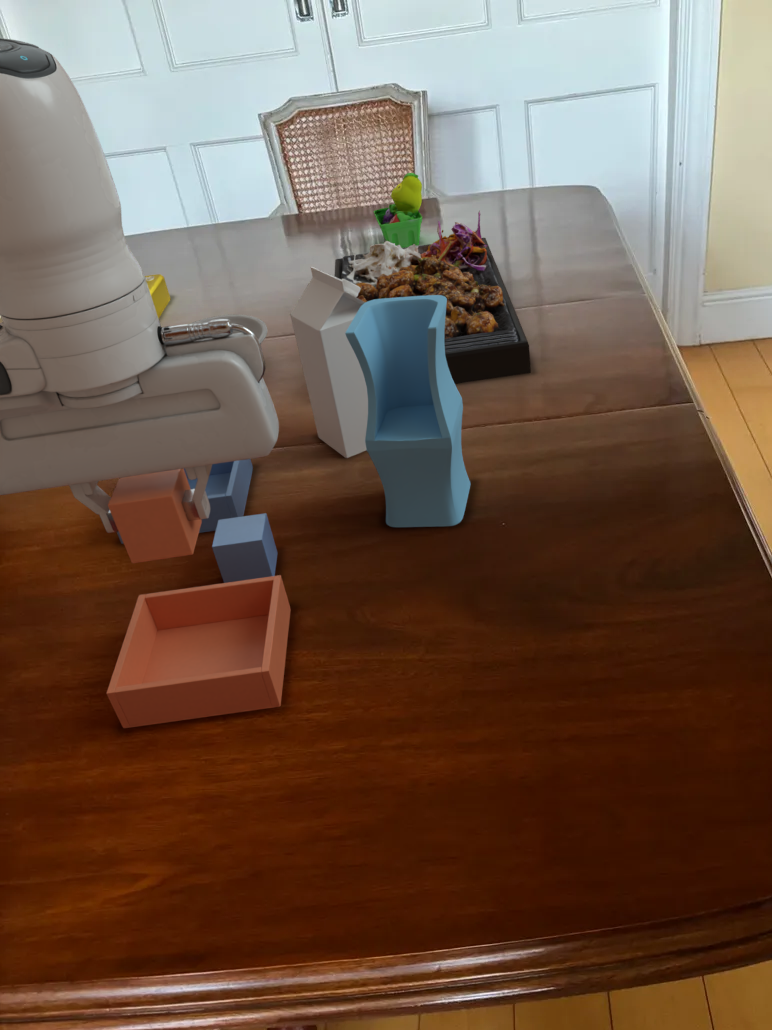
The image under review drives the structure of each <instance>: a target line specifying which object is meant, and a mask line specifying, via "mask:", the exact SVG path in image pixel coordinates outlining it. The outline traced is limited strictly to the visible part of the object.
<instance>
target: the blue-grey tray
mask: <svg viewBox="0 0 772 1030" xmlns="http://www.w3.org/2000/svg"><path fill="white" fill-rule="evenodd" d="M253 468H254V466H253V463H252V460H251V459H246V460H239V461H232V462H225V463H218V464H212V468H211V471H210V475H209V479H208V482H207V485H206V489H205V491H206V494H207V497H208V500H209V503H210V514H209V518H207V519H201V520H202V523H201V526H200V530H199V534H200V533H201V534H202V533H206V532H207V533H208V532H216V528H217V524H218V520H222V519H229V518H236V517H243V516H245V515H244V514H245V510H246V505H247V500H248V494H249V491H250V485H251V479H252V474H253V470H254V469H253ZM184 471H185V474H186V477H187V480H188V483H189V486H190V489H195V487H196V483H197V480H198V479H197V478H196V479H194V480H190V479H189V478H188V476H187V473H186V470H185V468H184ZM116 534H117V536H118V539H119V542H120V544H122V545H124V543H123V541H122V538H121V536H120V533H119V531H118V532H116Z"/></svg>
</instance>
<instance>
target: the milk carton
mask: <svg viewBox="0 0 772 1030" xmlns="http://www.w3.org/2000/svg"><path fill="white" fill-rule="evenodd" d="M310 271H311V276H312V278H311V279H310V280H309V282H308V284H307V285H306V287H305V289H304V291H303V292H302V294H301V295H300V297H299V299H298V300H297V302H296V304H295V305H294V307H293V308H292V310H291V311H290V313H289V315H290V320H291V324H292V329H293V332H294V337H295V341H296V346H297V351H298V355H299V358H300V362H301V367H302V373H303V377H304V381H305V385H306V389H307V393H308V399H309V402H310V407H311V412H312V415H313V420H314V425H315V429H316V433H317V438H319V439H320V440H321V441H322V442H324V443H325V444H326V445H328V446H329V447H331V448H332V449H333V450H334V451H335V452H337V453H338V454H340V455H341V456H342V457H344V458H345V459H348V458H351V457H354V456H356V455H359V454H361V453H363V452H365V451H366V452H367V449H366V443H365V437H366V429H367V420H368V394H367V386H366V382H365V378H364V375H363V372H362V369H361V366H360V364H359V361H358V359H357V357H356V355H355V353H354V350H353V349H352V347H351V345H350V343H349V341H348V339H347V337H346V334H345V333H346V331H347V329H348V327H349V326H350V324H351V322H352V320H353V319H354V317H355V315H356V314H357V312H358V310H359V309H360V307H361V306H362V305H363V304H364V303H365V302H363V301H362V300H360V299H358V298H356V297H357V296H358V293H359V292H360V289H361V288H360V287H359V286H357V285H355V284H353V283H351V282H349V281H347V280H345V279H339V278H336V277H334V275H332V274H329V273H327V272H326V271H323V270H321V269H318V268H316V267H314V266H310Z"/></svg>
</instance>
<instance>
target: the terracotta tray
mask: <svg viewBox="0 0 772 1030" xmlns="http://www.w3.org/2000/svg"><path fill="white" fill-rule="evenodd" d="M291 611H292V609H291V606H290V602H289V598H288V595H287V592H286V588H285V584H284V581H283V577H282V575H281V574H279V575H278V574H277V575H275V576H271V577H264V578H257V579H250V580H242V581H235V582H228V583H224V582H222V583H214V584H207V585H201V586H200V585H199V586H193V587H187V588H180V589H171V590H165V591H158V592H151V593H143V594H138V596H137V599H136V603H135V605H134V608H133V612H132V615H131V617H130V618H131V619H130V620H129V624H128V627H127V630H126V633H125V636H124V639H123V642H122V644H121V648H120V651H119V653H118V657H117V660H116V663H115V665H114V670H113V672H112V675H111V678H110V681H109V684H108V687H107V690H106V696H107V698H108V700H109V702H110V705H111V706H112V708H113V711H114V713H115V715H116V716H117V719H118V721H119V723H120V725H121V727H122V729H128V728H129V729H130V728H137V727H143V726H151V725H158V724H165V723H171V722H178V721H187V720H194V719H201V718H207V717H216V716H222V715H228V714H229V715H230V714H237V713H245V712H252V711H257V710H258V711H259V710H265V709H266V710H267V709H272V708H273V709H274V708H279V707H281V705H282V696H283V686H284V675H285V669H286V668H285V667H286V659H287V647H288V637H289V628H290V619H291Z"/></svg>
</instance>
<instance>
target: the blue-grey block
mask: <svg viewBox="0 0 772 1030" xmlns="http://www.w3.org/2000/svg"><path fill="white" fill-rule="evenodd" d="M211 549H212V552H213V555H214V557H215V560H216V563H217V566H218V569H219V572H220V576H221V578H222V581H223V583H228V582H235V581H242V580H250V579H257V578H264V577H271V576H276V570H277V569H276V568H277V563H278V561H277V560H278V549H277V546H276V543H275V539H274V536H273V531H272V528H271V524H270V520H269V517H268V514H267V513H266V512H265V513H258V514H250V515H243V517H236V518H229V519H222V520H218V524H217V528H216V531H214V536H213V541H212V544H211Z"/></svg>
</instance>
